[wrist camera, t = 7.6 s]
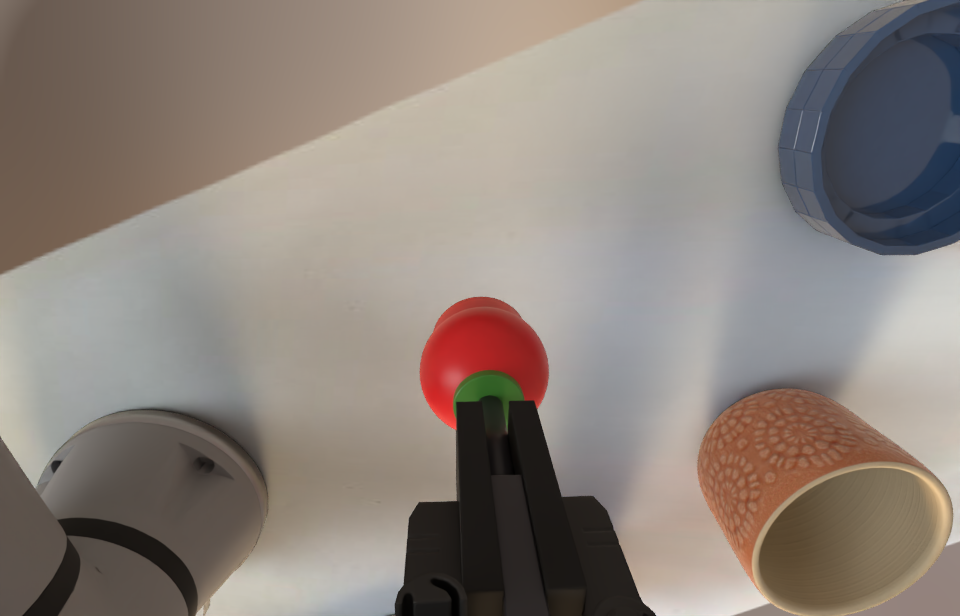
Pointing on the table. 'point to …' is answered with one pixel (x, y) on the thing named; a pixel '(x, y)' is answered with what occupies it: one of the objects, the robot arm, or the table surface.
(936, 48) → the dish
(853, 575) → the planter
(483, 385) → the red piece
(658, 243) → the table surface
